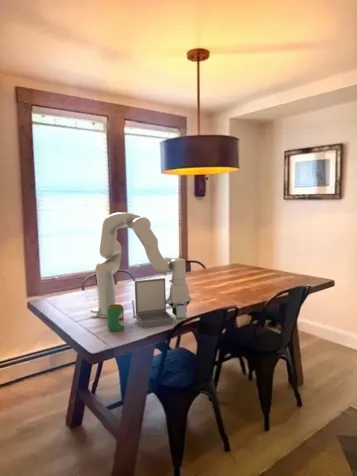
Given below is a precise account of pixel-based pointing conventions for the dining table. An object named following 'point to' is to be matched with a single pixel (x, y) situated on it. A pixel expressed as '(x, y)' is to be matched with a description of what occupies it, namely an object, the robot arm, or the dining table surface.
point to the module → (180, 310)
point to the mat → (178, 318)
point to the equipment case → (151, 303)
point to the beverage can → (115, 317)
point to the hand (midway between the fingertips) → (179, 313)
